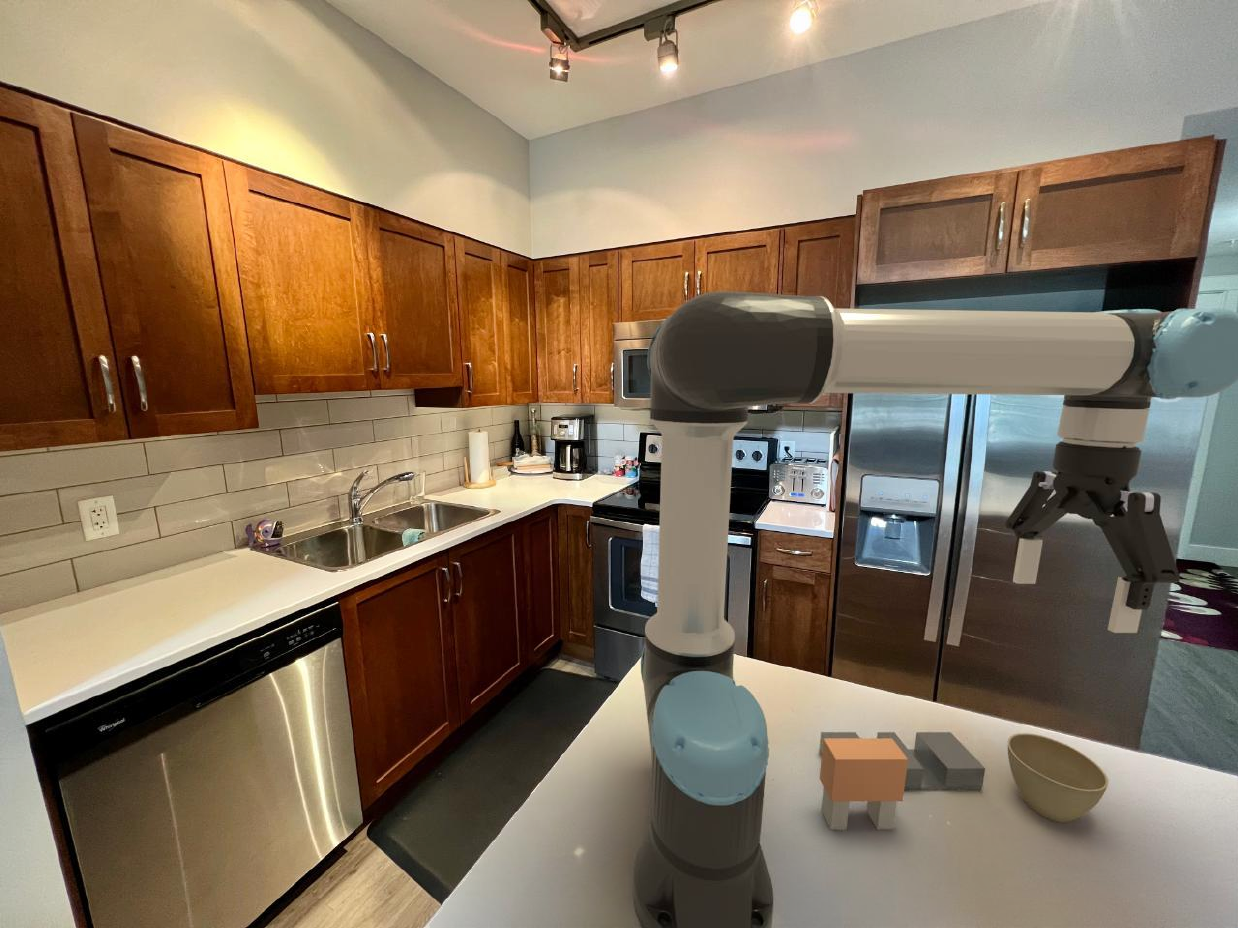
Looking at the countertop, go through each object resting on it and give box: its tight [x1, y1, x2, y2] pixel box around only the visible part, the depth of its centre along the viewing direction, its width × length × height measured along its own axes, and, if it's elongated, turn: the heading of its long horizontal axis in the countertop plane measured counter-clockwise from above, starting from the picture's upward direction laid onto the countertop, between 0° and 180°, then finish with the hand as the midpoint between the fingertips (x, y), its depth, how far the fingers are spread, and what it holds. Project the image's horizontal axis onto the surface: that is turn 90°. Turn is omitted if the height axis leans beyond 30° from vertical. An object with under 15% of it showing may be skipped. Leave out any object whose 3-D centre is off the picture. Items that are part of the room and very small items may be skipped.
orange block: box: [819, 737, 908, 831], centre depth 62 cm, size 9×4×10 cm, turn 91°
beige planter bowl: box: [1007, 732, 1109, 823], centre depth 65 cm, size 10×10×7 cm
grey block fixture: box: [818, 731, 986, 791], centre depth 71 cm, size 20×7×4 cm, turn 91°
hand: (1067, 604), depth 63 cm, fingers open, 13 cm apart
